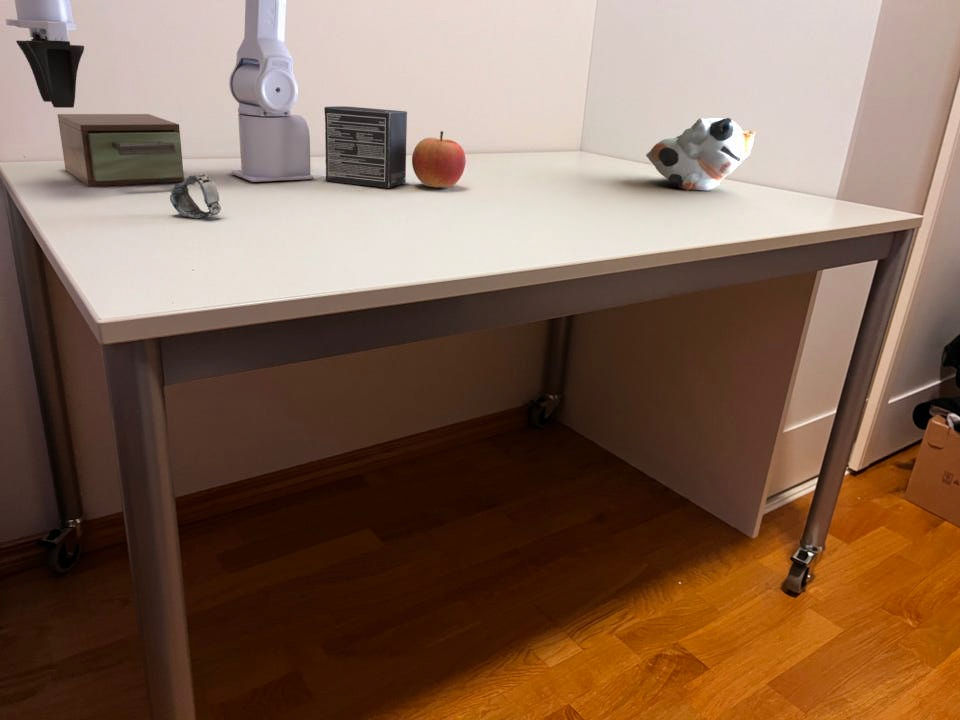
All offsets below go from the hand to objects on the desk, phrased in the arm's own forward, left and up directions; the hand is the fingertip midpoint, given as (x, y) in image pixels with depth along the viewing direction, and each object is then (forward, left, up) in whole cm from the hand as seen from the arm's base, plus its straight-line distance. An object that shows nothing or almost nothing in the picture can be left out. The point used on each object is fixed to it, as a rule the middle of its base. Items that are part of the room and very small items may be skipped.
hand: (58, 104), depth 92 cm
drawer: (-8, -3, -9) cm, 13 cm away
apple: (-46, +14, -10) cm, 50 cm away
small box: (-38, +7, -10) cm, 40 cm away
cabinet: (-8, -8, -10) cm, 15 cm away
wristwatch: (-8, +21, -10) cm, 25 cm away
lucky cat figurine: (-90, +27, -10) cm, 95 cm away
